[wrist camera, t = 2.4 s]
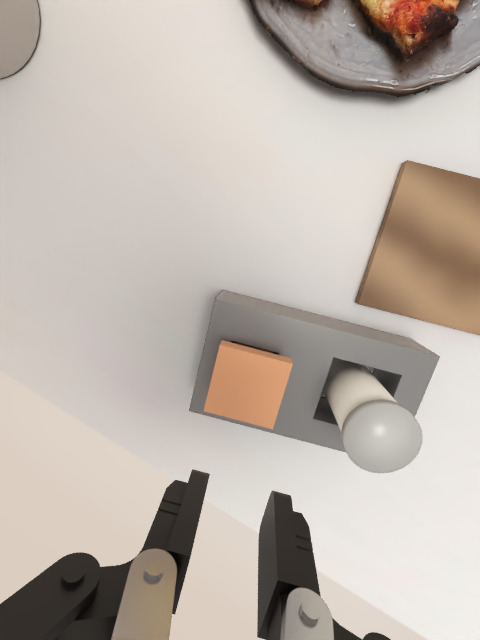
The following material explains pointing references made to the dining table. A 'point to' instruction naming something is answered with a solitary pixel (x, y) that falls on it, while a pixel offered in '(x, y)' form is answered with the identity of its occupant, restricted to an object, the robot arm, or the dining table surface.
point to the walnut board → (428, 250)
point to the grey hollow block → (311, 362)
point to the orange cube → (248, 384)
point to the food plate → (377, 40)
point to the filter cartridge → (370, 419)
